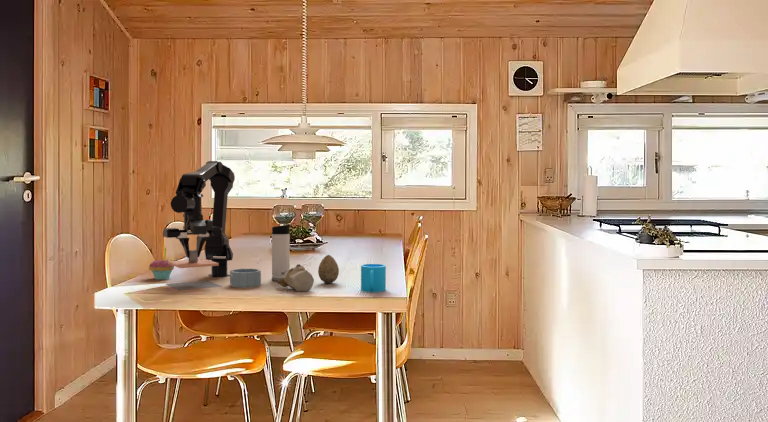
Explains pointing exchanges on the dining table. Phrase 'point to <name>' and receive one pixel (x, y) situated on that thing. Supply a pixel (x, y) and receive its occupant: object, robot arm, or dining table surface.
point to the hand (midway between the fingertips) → (193, 257)
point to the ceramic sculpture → (298, 279)
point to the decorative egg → (328, 269)
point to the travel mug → (280, 252)
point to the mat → (193, 285)
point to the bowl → (245, 278)
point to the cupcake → (161, 268)
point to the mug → (373, 277)
